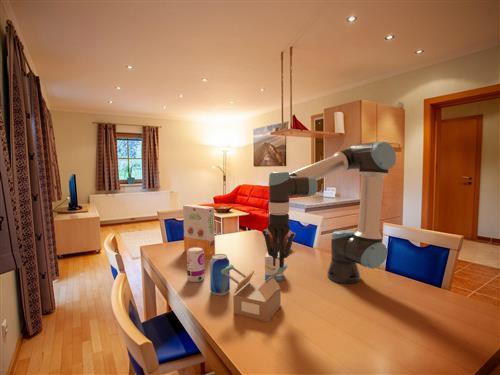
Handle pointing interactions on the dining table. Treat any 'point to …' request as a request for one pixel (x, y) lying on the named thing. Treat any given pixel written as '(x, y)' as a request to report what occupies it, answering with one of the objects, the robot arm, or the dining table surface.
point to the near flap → (271, 284)
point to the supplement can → (195, 264)
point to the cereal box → (199, 228)
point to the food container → (278, 241)
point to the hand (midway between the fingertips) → (278, 274)
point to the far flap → (240, 284)
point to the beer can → (219, 275)
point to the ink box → (271, 268)
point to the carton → (255, 302)
